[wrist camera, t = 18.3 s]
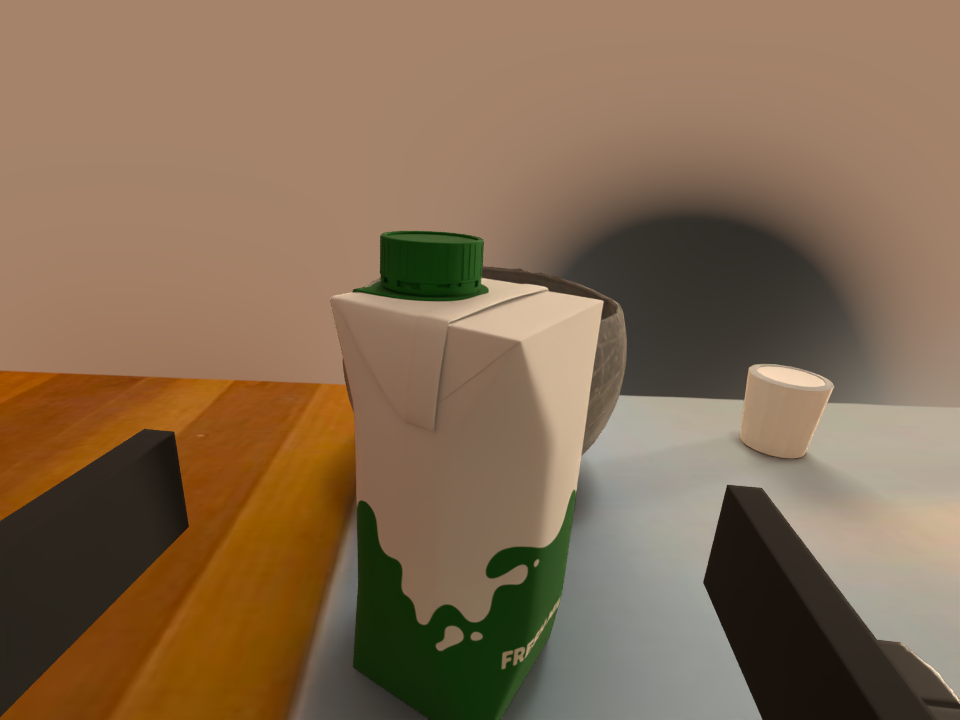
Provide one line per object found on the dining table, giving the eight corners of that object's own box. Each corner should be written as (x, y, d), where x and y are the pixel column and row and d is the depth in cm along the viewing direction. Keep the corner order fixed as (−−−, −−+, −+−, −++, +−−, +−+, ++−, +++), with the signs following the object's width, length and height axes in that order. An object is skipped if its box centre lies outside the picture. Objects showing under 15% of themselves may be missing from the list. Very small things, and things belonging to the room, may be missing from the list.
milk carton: (434, 565, 31) (447, 226, 25) (575, 635, 27) (634, 247, 21) (323, 673, 24) (300, 236, 18) (490, 792, 20) (541, 273, 13)
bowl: (321, 434, 46) (313, 264, 41) (515, 400, 56) (527, 260, 51) (404, 591, 29) (408, 337, 24) (661, 504, 39) (701, 309, 34)
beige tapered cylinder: (744, 455, 47) (762, 384, 45) (724, 423, 54) (739, 359, 51) (826, 466, 46) (849, 394, 44) (796, 432, 52) (815, 367, 50)
